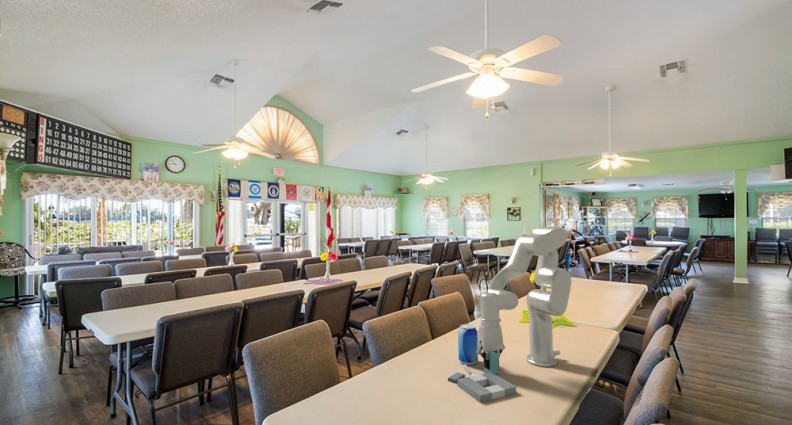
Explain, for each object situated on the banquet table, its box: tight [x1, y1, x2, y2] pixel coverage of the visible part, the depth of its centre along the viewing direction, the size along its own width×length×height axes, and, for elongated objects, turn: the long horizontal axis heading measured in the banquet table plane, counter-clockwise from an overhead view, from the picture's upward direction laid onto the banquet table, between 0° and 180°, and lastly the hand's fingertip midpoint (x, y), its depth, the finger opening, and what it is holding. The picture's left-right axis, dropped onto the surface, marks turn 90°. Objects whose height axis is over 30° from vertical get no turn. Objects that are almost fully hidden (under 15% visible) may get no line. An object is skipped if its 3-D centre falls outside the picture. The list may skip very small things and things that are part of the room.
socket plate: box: [456, 372, 517, 403], centre depth 131 cm, size 16×14×2 cm
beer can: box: [457, 323, 479, 366], centre depth 157 cm, size 8×8×16 cm
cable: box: [462, 364, 476, 376], centre depth 146 cm, size 11×1×1 cm, turn 9°
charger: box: [483, 351, 500, 375], centre depth 146 cm, size 4×4×8 cm
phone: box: [447, 372, 466, 384], centre depth 140 cm, size 7×4×1 cm, turn 139°
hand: (491, 366), depth 146 cm, fingers closed on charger, 4 cm apart
